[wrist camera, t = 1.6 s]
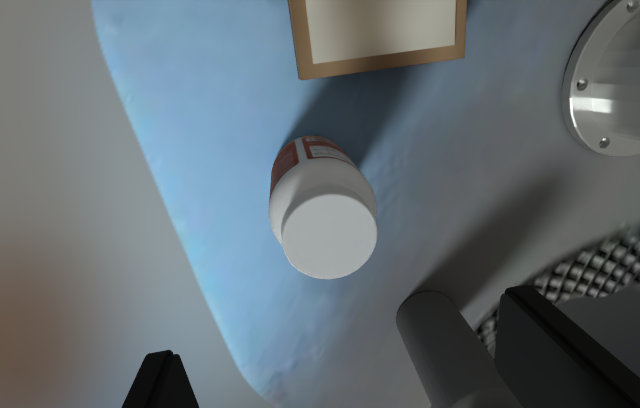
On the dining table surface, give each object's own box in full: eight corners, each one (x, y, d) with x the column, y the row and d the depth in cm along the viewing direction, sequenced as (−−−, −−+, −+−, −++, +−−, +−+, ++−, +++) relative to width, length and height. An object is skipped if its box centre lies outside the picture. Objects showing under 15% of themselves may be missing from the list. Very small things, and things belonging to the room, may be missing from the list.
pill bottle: (290, 220, 28) (295, 310, 17) (258, 152, 25) (241, 209, 15) (361, 192, 27) (407, 266, 17) (334, 120, 25) (370, 157, 15)
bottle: (448, 336, 34) (561, 517, 20) (392, 340, 34) (469, 530, 20) (457, 288, 32) (591, 455, 18) (398, 291, 31) (488, 467, 18)
